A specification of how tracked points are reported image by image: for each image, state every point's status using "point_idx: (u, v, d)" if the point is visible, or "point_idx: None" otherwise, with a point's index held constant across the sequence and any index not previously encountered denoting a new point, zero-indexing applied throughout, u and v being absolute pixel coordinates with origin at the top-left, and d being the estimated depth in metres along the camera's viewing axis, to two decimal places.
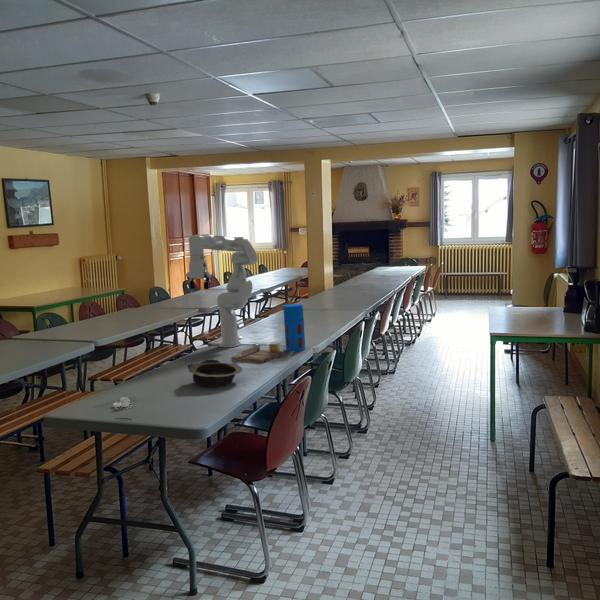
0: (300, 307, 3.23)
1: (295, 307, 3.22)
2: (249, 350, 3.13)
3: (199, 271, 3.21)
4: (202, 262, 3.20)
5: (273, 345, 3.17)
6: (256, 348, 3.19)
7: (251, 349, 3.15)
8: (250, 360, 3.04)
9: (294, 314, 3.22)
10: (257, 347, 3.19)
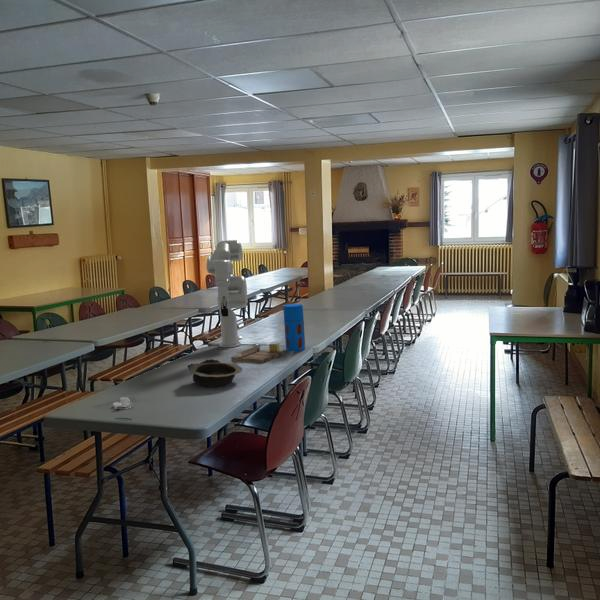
0: (300, 307, 3.23)
1: (295, 307, 3.22)
2: (249, 350, 3.13)
3: None
4: None
5: (273, 345, 3.17)
6: (256, 348, 3.19)
7: (251, 349, 3.15)
8: (250, 360, 3.04)
9: (294, 314, 3.22)
10: (257, 347, 3.19)
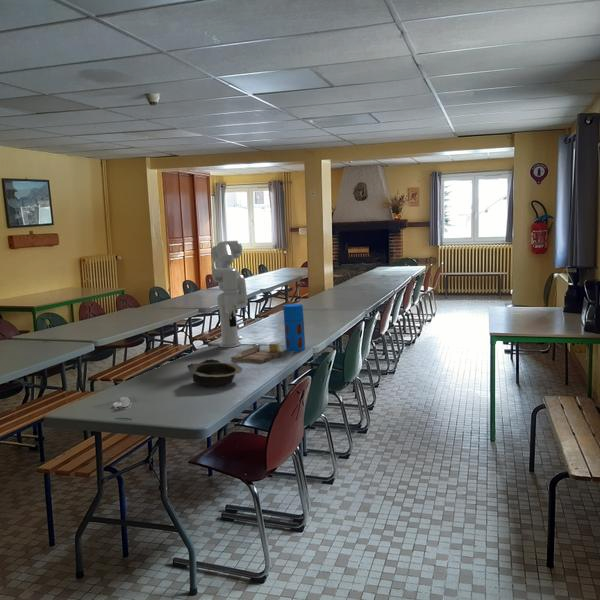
0: (300, 307, 3.23)
1: (295, 307, 3.22)
2: (249, 350, 3.13)
3: None
4: None
5: (273, 345, 3.17)
6: (256, 348, 3.19)
7: (251, 349, 3.15)
8: (250, 360, 3.04)
9: (294, 314, 3.22)
10: (257, 347, 3.19)
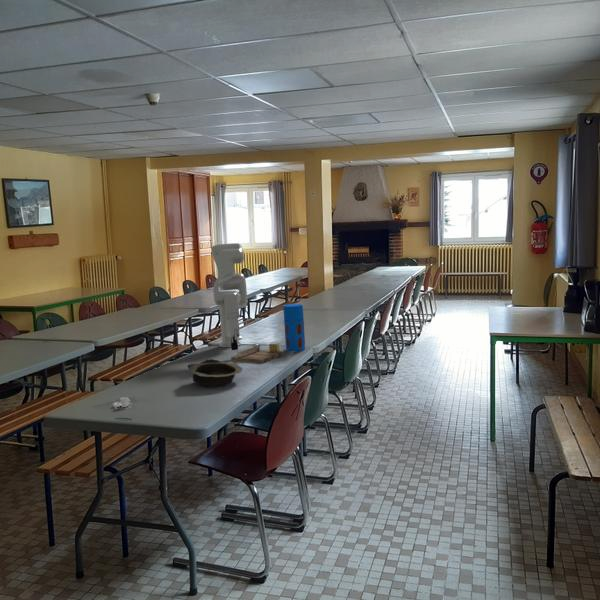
0: (300, 307, 3.23)
1: (295, 307, 3.22)
2: (249, 350, 3.13)
3: None
4: None
5: (273, 345, 3.17)
6: (256, 348, 3.19)
7: (251, 349, 3.15)
8: (250, 360, 3.04)
9: (294, 314, 3.22)
10: (257, 347, 3.19)
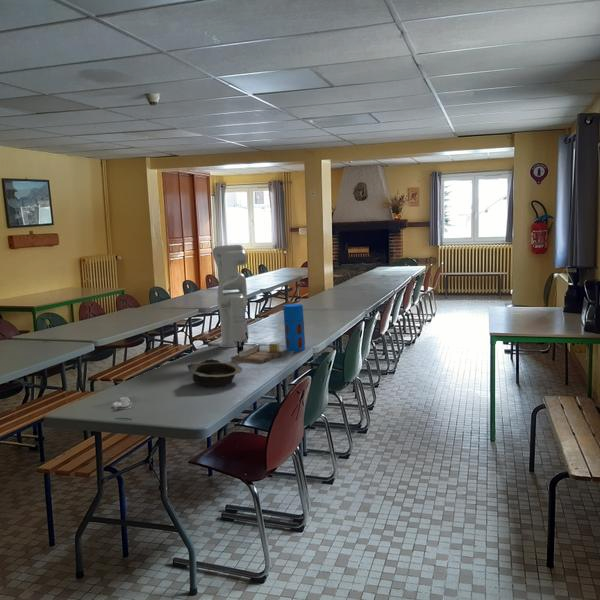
0: (300, 307, 3.23)
1: (295, 307, 3.22)
2: (250, 350, 3.13)
3: None
4: None
5: (273, 345, 3.17)
6: (256, 348, 3.19)
7: (252, 349, 3.15)
8: (250, 360, 3.04)
9: (294, 314, 3.22)
10: (257, 347, 3.19)
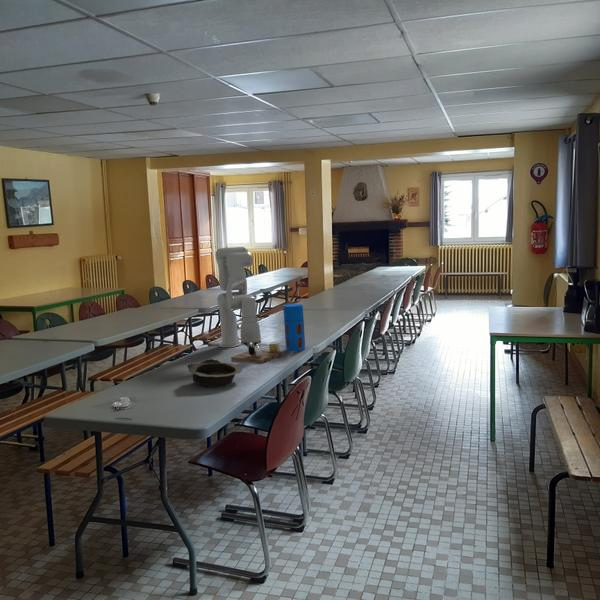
0: (300, 307, 3.23)
1: (295, 307, 3.22)
2: None
3: None
4: None
5: (273, 345, 3.17)
6: None
7: (259, 348, 3.15)
8: (250, 360, 3.04)
9: (294, 314, 3.22)
10: None
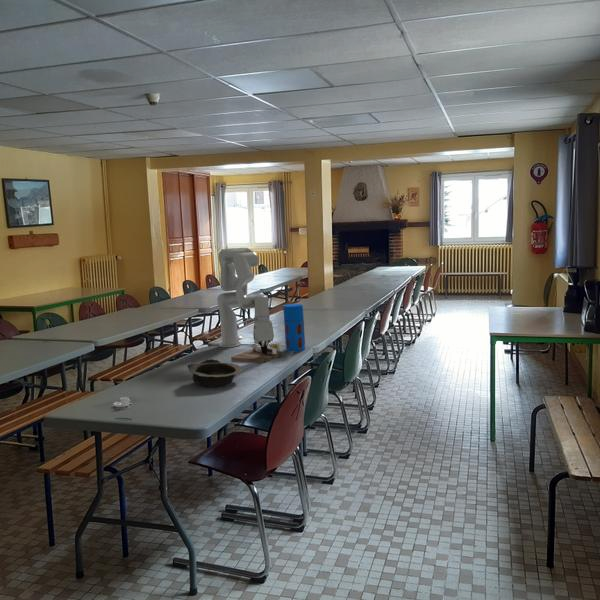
0: (300, 307, 3.23)
1: (295, 307, 3.22)
2: None
3: None
4: (254, 324, 3.07)
5: (273, 345, 3.17)
6: None
7: None
8: (250, 360, 3.04)
9: (294, 314, 3.22)
10: None
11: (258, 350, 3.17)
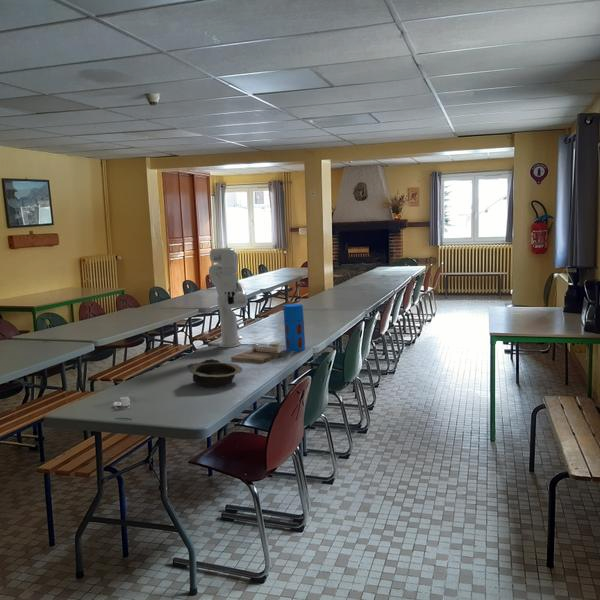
0: (300, 307, 3.23)
1: (295, 307, 3.22)
2: None
3: None
4: None
5: (273, 345, 3.17)
6: None
7: None
8: (250, 360, 3.04)
9: (294, 314, 3.22)
10: None
11: (260, 350, 3.18)
